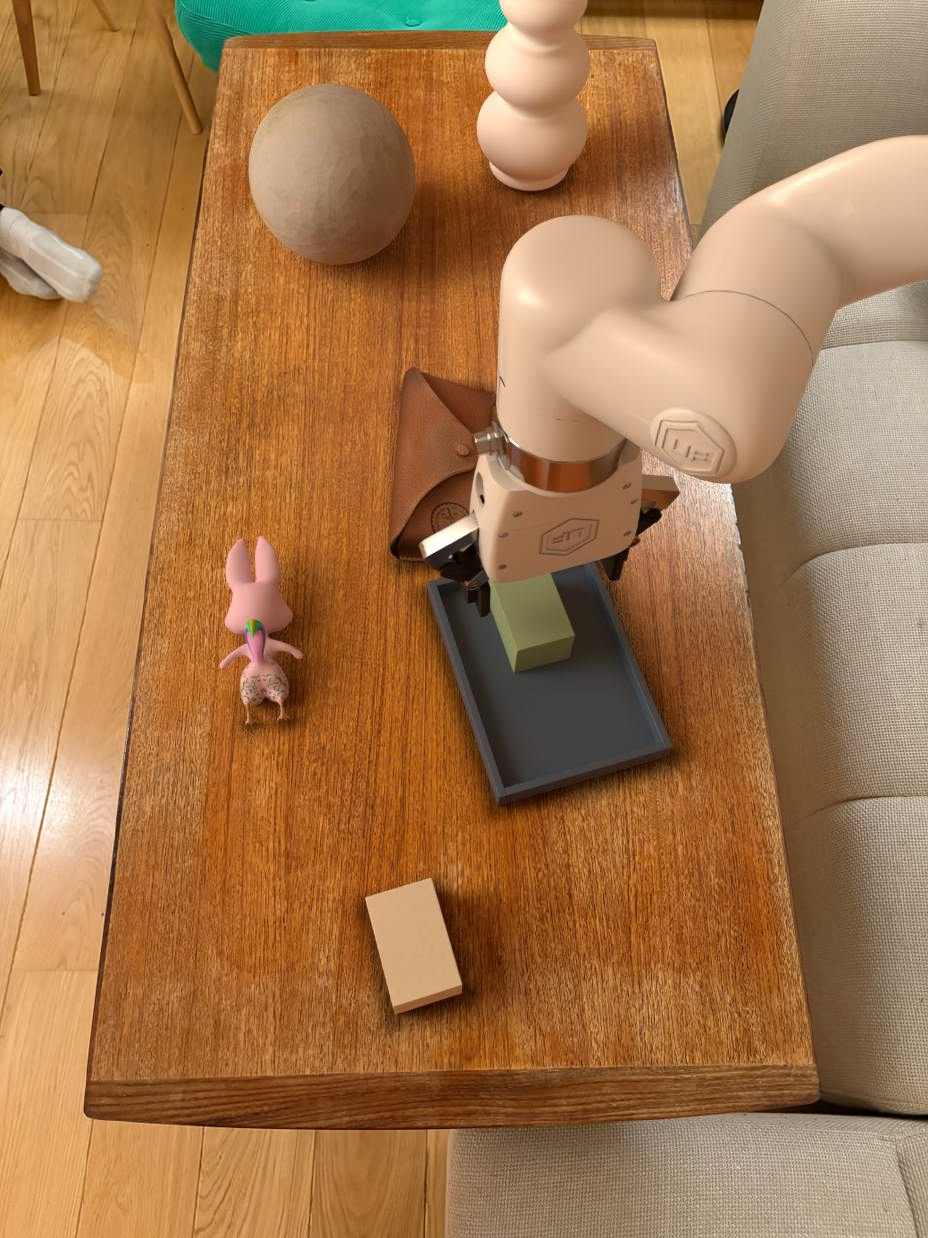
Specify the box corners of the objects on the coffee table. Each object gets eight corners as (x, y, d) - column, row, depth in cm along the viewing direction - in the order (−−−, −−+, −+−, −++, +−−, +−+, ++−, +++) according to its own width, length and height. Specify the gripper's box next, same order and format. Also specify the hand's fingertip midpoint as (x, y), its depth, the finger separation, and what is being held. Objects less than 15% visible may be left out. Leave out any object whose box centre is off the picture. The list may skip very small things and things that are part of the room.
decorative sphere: (267, 190, 101) (239, 46, 88) (416, 187, 102) (411, 44, 88) (259, 300, 94) (228, 162, 81) (419, 298, 95) (414, 160, 82)
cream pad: (432, 890, 70) (431, 877, 66) (461, 993, 66) (462, 985, 63) (369, 909, 69) (364, 897, 65) (395, 1014, 66) (393, 1007, 62)
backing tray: (583, 553, 82) (586, 540, 80) (667, 756, 74) (673, 747, 73) (428, 593, 80) (427, 581, 79) (497, 806, 72) (498, 797, 71)
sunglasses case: (495, 561, 81) (453, 521, 76) (421, 581, 84) (376, 543, 79) (498, 387, 89) (460, 340, 84) (430, 410, 93) (390, 367, 87)
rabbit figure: (312, 721, 77) (293, 540, 81) (304, 703, 71) (284, 510, 75) (229, 733, 76) (215, 550, 81) (214, 715, 70) (199, 519, 75)
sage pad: (540, 582, 80) (544, 556, 77) (569, 658, 77) (575, 635, 74) (486, 596, 80) (488, 570, 76) (513, 673, 77) (517, 650, 73)
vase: (594, 196, 102) (636, -68, 79) (489, 212, 100) (502, -51, 78) (565, 126, 106) (596, -141, 84) (464, 140, 105) (469, -127, 83)
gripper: (432, 520, 54) (441, 659, 69) (732, 443, 56) (676, 594, 71) (395, 414, 57) (411, 569, 72) (679, 345, 59) (637, 510, 74)
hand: (543, 581), depth 72 cm, fingers open, 9 cm apart
